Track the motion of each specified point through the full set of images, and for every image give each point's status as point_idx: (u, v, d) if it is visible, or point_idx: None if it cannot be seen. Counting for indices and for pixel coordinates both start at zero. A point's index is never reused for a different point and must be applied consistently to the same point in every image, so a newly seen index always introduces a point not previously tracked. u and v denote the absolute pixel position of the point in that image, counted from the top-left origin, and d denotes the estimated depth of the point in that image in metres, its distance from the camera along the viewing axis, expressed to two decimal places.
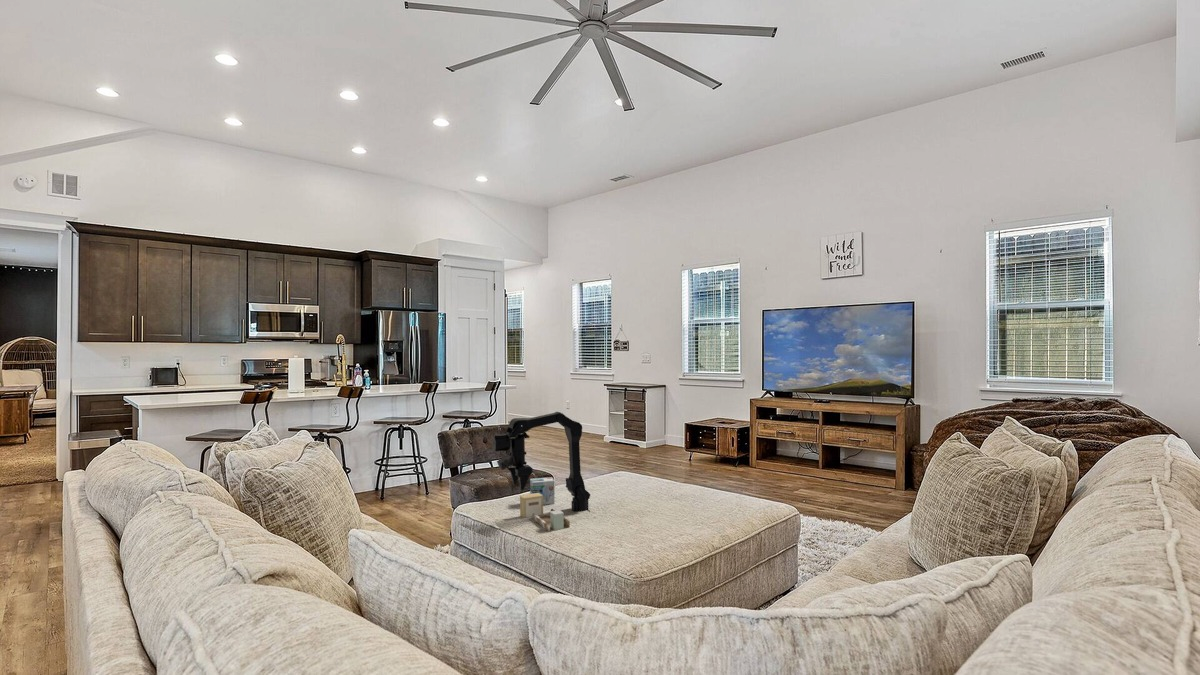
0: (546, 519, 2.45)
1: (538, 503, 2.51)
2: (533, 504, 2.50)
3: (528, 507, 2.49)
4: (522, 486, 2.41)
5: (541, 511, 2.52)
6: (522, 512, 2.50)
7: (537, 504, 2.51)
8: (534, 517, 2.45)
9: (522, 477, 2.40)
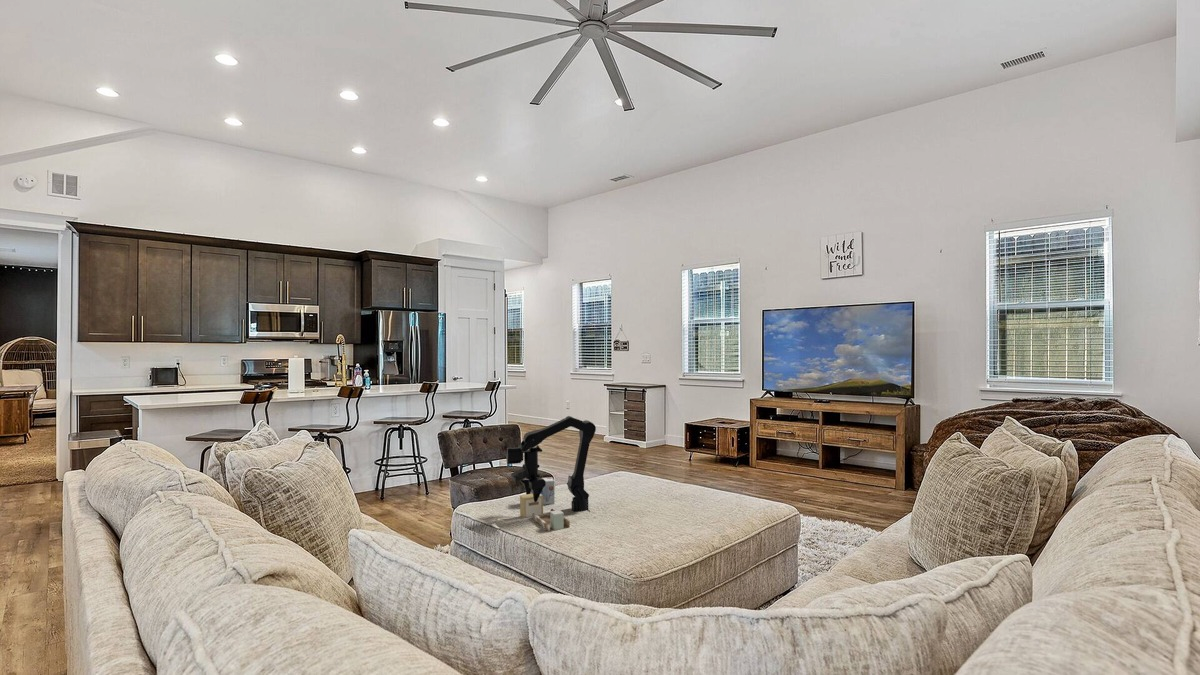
0: (546, 519, 2.45)
1: (538, 503, 2.51)
2: (533, 504, 2.50)
3: (528, 507, 2.49)
4: (535, 498, 2.47)
5: (541, 511, 2.52)
6: (522, 512, 2.50)
7: (537, 504, 2.51)
8: (534, 517, 2.45)
9: (535, 490, 2.47)
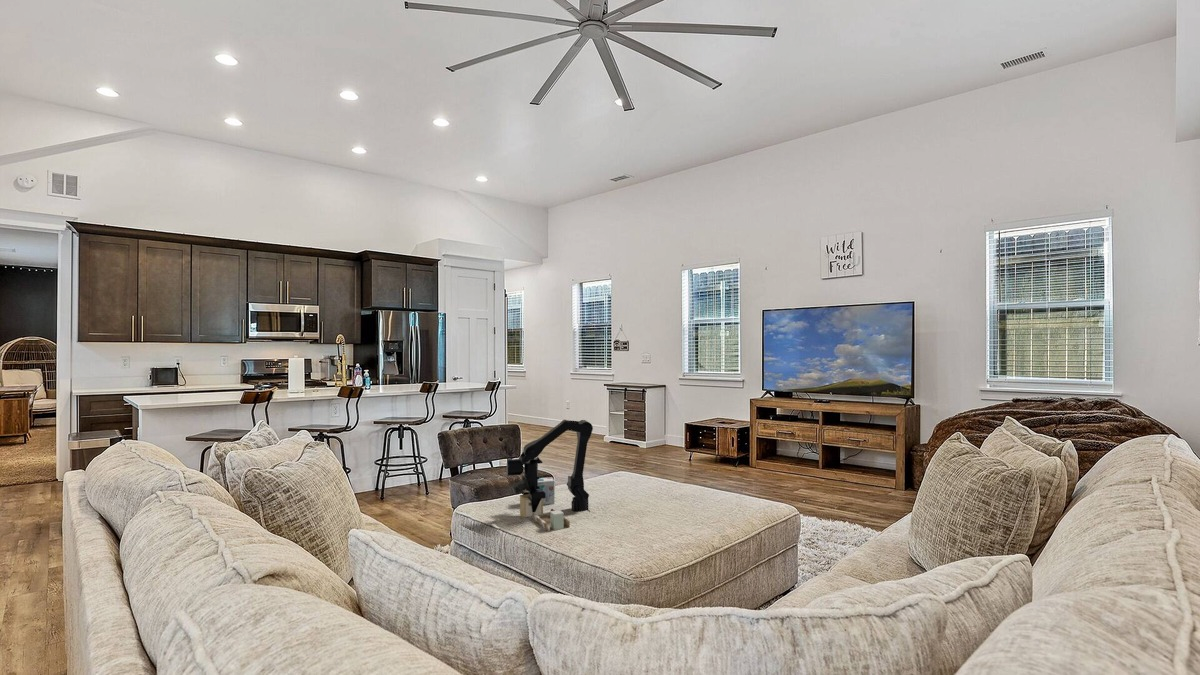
0: (546, 519, 2.45)
1: None
2: None
3: (528, 506, 2.49)
4: (534, 509, 2.49)
5: (541, 511, 2.52)
6: (522, 512, 2.50)
7: None
8: (534, 517, 2.45)
9: (534, 500, 2.49)
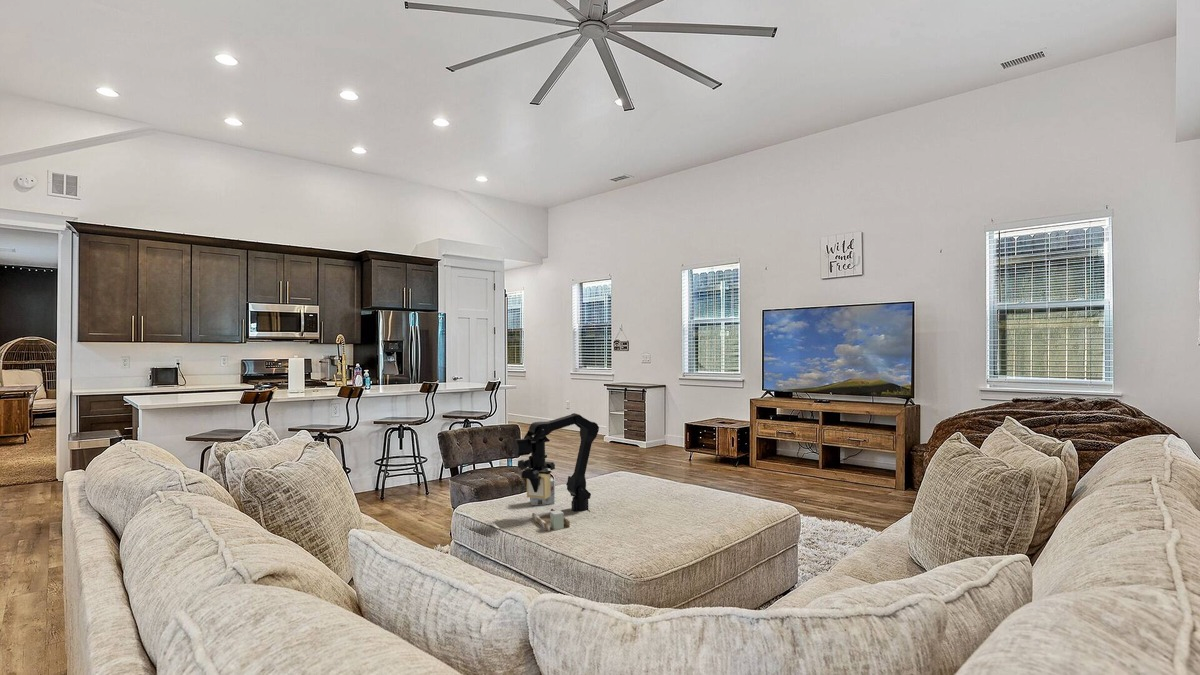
0: (546, 519, 2.45)
1: (540, 484, 2.44)
2: None
3: (531, 485, 2.46)
4: (534, 489, 2.44)
5: (543, 493, 2.43)
6: None
7: (539, 485, 2.44)
8: (534, 517, 2.45)
9: (533, 480, 2.43)
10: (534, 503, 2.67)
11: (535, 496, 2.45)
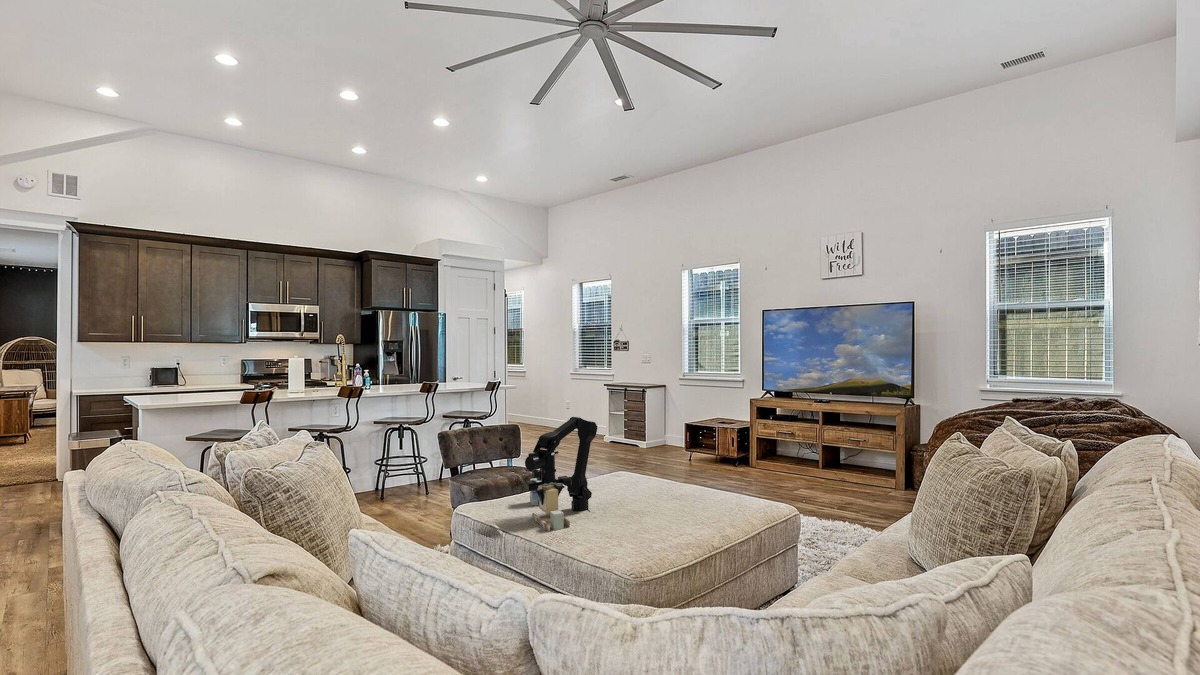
0: (546, 519, 2.45)
1: (544, 497, 2.40)
2: None
3: None
4: (540, 501, 2.41)
5: (546, 507, 2.39)
6: None
7: (544, 498, 2.40)
8: (534, 517, 2.45)
9: (539, 492, 2.41)
10: (534, 503, 2.67)
11: (542, 509, 2.42)
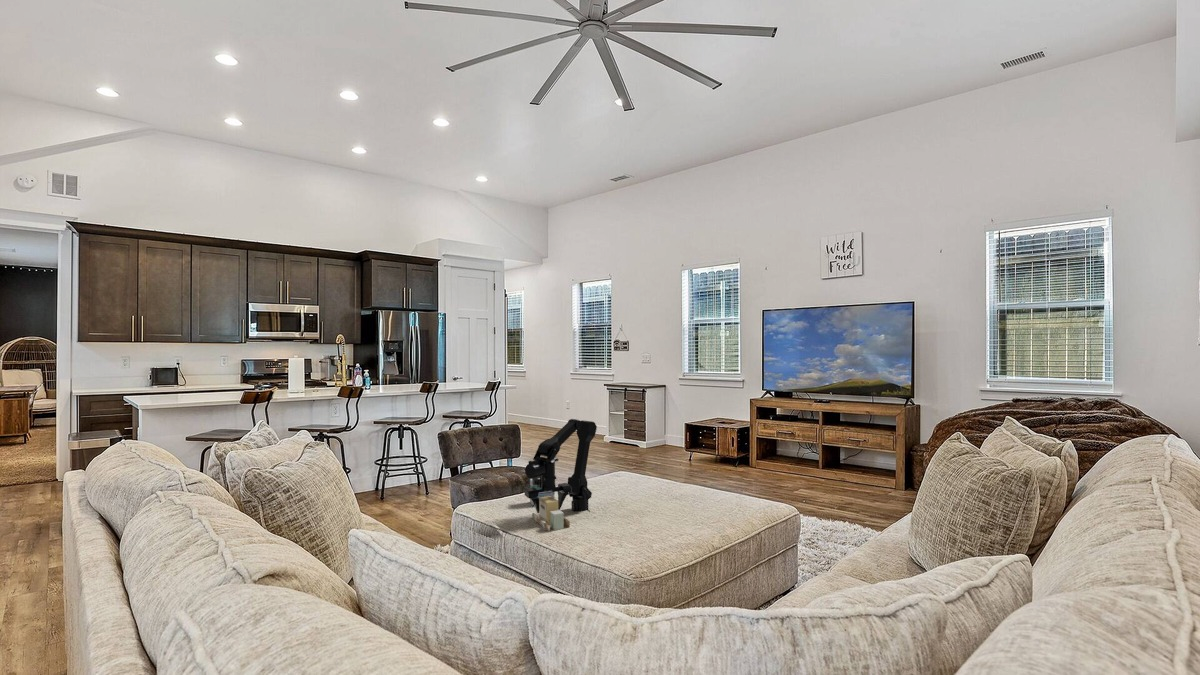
0: None
1: (545, 508, 2.40)
2: (542, 507, 2.42)
3: (540, 508, 2.44)
4: (536, 509, 2.41)
5: (546, 518, 2.39)
6: None
7: (544, 509, 2.40)
8: (534, 517, 2.45)
9: (534, 500, 2.40)
10: None
11: None
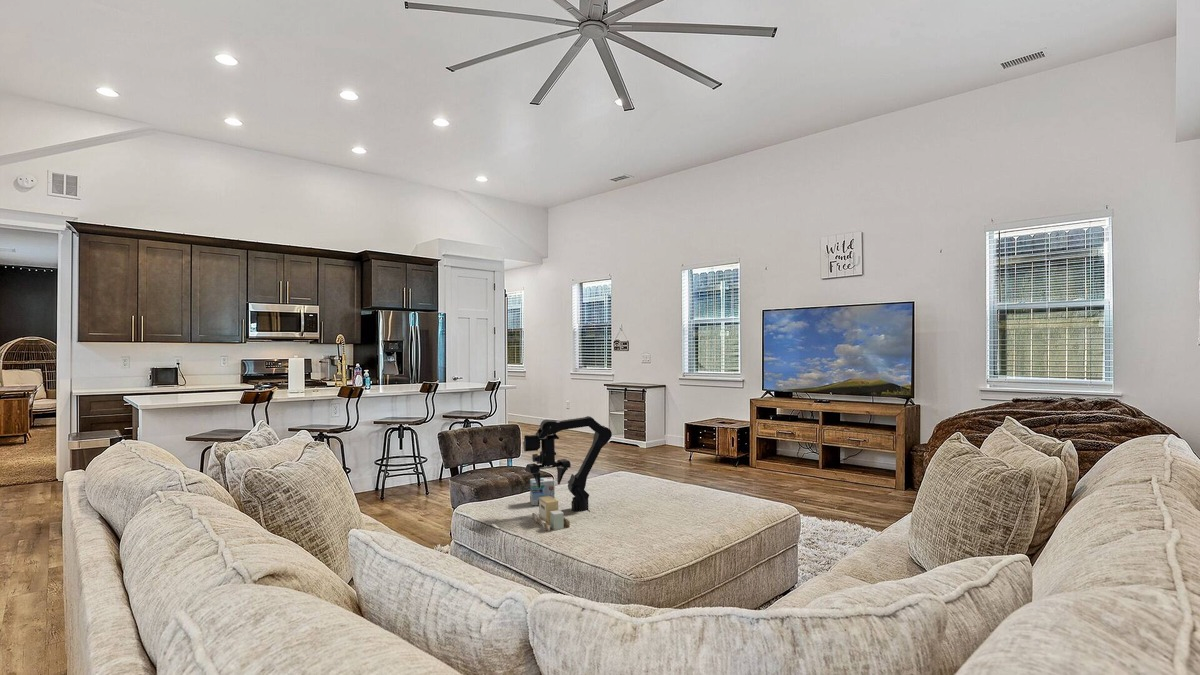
0: None
1: (545, 508, 2.40)
2: (542, 507, 2.42)
3: (540, 508, 2.44)
4: (537, 484, 2.51)
5: (546, 518, 2.39)
6: None
7: (544, 509, 2.40)
8: (534, 517, 2.45)
9: (535, 475, 2.51)
10: (534, 503, 2.67)
11: None
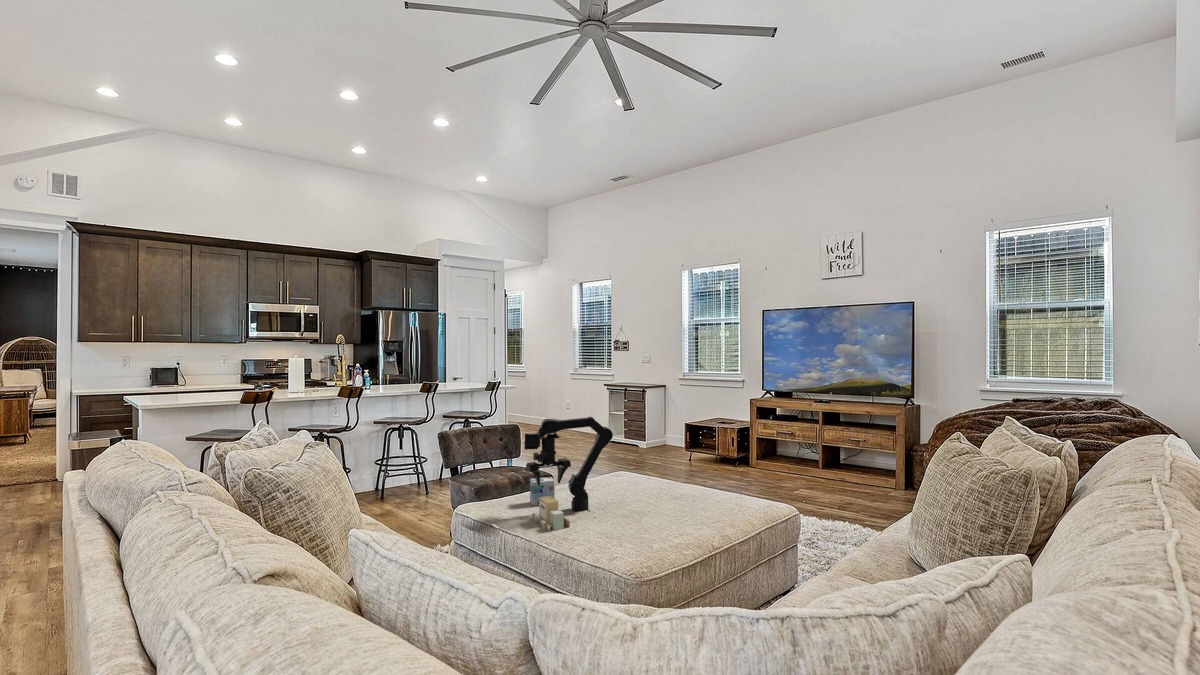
0: None
1: (545, 508, 2.40)
2: (542, 507, 2.42)
3: (540, 508, 2.44)
4: (537, 482, 2.53)
5: (546, 518, 2.39)
6: None
7: (544, 509, 2.40)
8: (534, 517, 2.45)
9: (535, 474, 2.53)
10: (534, 503, 2.67)
11: None
